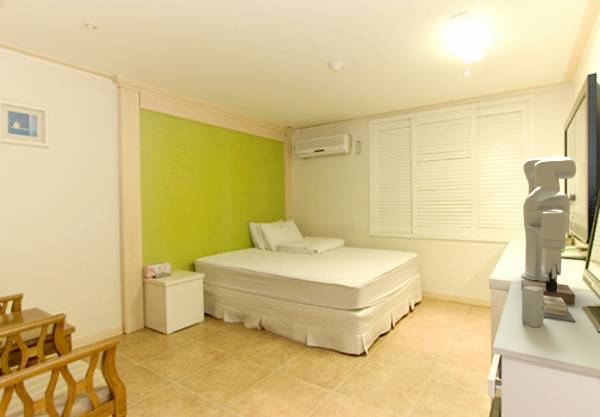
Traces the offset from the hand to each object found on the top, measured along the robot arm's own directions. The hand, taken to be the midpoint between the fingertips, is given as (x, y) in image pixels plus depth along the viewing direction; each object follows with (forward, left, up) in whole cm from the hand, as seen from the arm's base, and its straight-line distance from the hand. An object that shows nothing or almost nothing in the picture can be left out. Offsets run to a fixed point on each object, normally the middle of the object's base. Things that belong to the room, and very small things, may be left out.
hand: (551, 291), depth 124 cm
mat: (+6, -1, -6) cm, 8 cm away
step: (-12, 0, -6) cm, 13 cm away
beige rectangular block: (+7, 0, -2) cm, 7 cm away
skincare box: (+23, -8, -6) cm, 25 cm away
